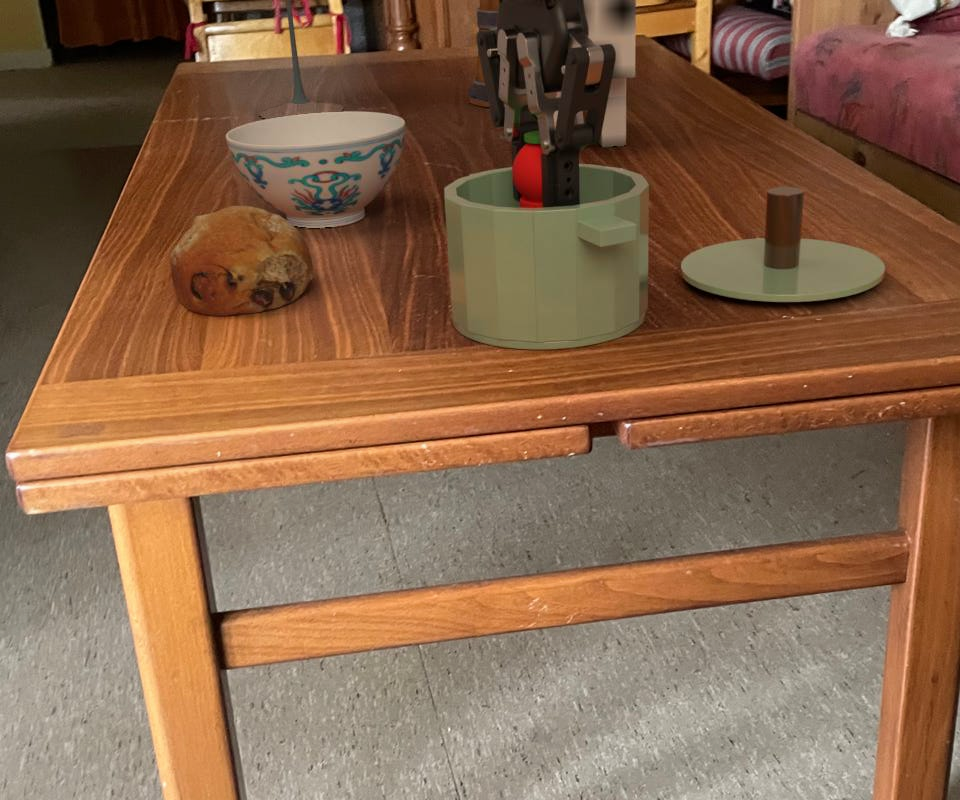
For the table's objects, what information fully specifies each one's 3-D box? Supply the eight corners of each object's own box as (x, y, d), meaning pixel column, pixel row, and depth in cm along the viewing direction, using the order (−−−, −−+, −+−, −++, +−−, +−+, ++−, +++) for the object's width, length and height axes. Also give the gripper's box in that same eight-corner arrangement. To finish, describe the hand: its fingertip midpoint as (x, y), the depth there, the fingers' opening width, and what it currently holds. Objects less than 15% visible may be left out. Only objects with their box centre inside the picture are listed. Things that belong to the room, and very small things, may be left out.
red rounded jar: (558, 199, 79) (557, 124, 77) (589, 211, 76) (588, 134, 74) (503, 208, 78) (499, 132, 76) (531, 221, 75) (529, 142, 73)
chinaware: (430, 197, 112) (424, 109, 108) (385, 242, 99) (376, 144, 95) (274, 198, 115) (263, 112, 111) (211, 242, 102) (196, 147, 98)
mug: (608, 107, 148) (608, -75, 139) (493, 119, 146) (484, -67, 137) (560, 85, 165) (557, -79, 156) (456, 95, 162) (446, -71, 153)
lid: (798, 242, 93) (804, 160, 90) (927, 287, 82) (938, 195, 79) (643, 272, 88) (644, 186, 85) (758, 325, 77) (763, 228, 74)
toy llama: (606, 124, 139) (605, -71, 130) (634, 155, 123) (636, -64, 114) (540, 128, 139) (535, -67, 129) (560, 160, 123) (555, -59, 114)
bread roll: (316, 321, 93) (301, 215, 93) (322, 301, 83) (305, 182, 83) (183, 337, 91) (167, 229, 91) (172, 318, 81) (155, 197, 81)
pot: (568, 267, 90) (565, 149, 86) (708, 337, 75) (713, 198, 71) (408, 297, 85) (398, 174, 82) (524, 378, 71) (518, 232, 67)
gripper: (662, -103, 65) (657, 221, 73) (539, -101, 76) (546, 179, 84) (535, -94, 62) (544, 242, 70) (427, -94, 74) (446, 195, 82)
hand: (545, 206), depth 77 cm, fingers closed on red rounded jar, 3 cm apart
